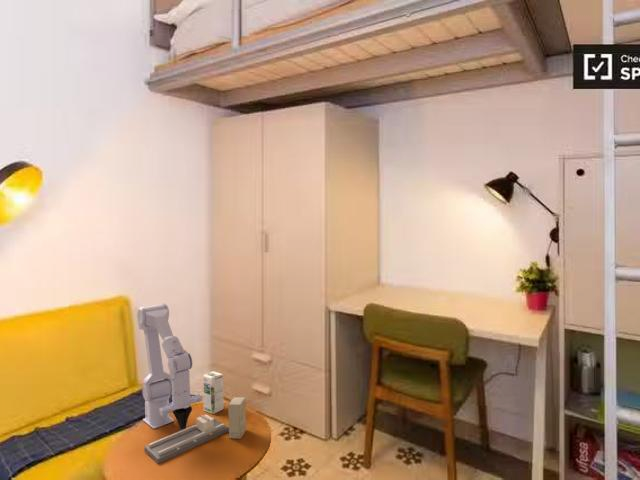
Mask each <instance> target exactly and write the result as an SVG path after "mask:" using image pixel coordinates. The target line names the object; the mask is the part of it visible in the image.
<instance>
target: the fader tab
mask: <svg viewBox="0 0 640 480" xmlns="http://www.w3.org/2000/svg"><path fill="white" fill-rule="evenodd" d="M195 421H196V422H195V423H196V424H195V425H196V427H197V429H199V430H200V431H202V432H204V431H207V430H209V429H211V428H214V419H213V418H212V417H211V416H210V415H208V414H207V413H206V414H204V413H203V414H200V415H199V416H198V417H196V419H195Z"/></svg>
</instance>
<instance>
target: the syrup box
mask: <svg viewBox="0 0 640 480" xmlns="http://www.w3.org/2000/svg"><path fill="white" fill-rule="evenodd" d="M202 383H203V384H202V387H203V389H202V390H203V412H207V413H209V414H212V415H215V414H217V413H218V412H220V411H223V410H224V406H225V405H224V402H225V401H224V374H223V373H220V372H217V371H214V370H213V371H209V372H207V373H205V374H203V376H202Z"/></svg>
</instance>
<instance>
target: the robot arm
mask: <svg viewBox="0 0 640 480" xmlns="http://www.w3.org/2000/svg"><path fill="white" fill-rule="evenodd" d="M138 308H139V309H138V310H137V323H138V324H137V325H138V329H139V330H142V331H143V335H144V339H145V340H144V341H145V347H146V348H145V349H146V356H147V363H148V364H147V365H148V375H147V376H146V377H145V378H144V379H143V380H142V398H143V399H144V401H145V402H144V410H145V411H144V415H145V418H143V419H142V421H143V422H144V423H146V424H147V425H148V426H149V427H150V428H152V429H153V430H155V429H158V428H160V427H162V426H165V425H167V424H170V423H173V422H174V421H175V419H176V421H177V425H178V428H179V429H180V431H181V430H184V429H186V428H187V423H188V420H189V417H190V414H191V412H192V411H193V407H192V406H191V405H193V404H196V403H198V402H199V403H200V402H201V403H202V402H203V395H201V394H200V393H199V394H196V395H191V383H190V382H191V381H190V370H191V369H192V368H193V358H192V355H191V353H190V352H189V351H188V350H186V349H184V348H183V345H182V344H181V341H180V339H179V337H177V336H175V335H174V334H173V331H172V328H171V325H170V323H169V317H170V309H169V306H168V305H167V304H166V303H164V302H163V303H161V304H160V303H159V304H155V305H150V306H140V307H138ZM160 338H161V340H162V343H161V342H160ZM160 343H161V344H160ZM161 347H162V349H163V351H164V353H165V356H166V359H168V361H167V367H168V370H169V373H168V372H166V371H164V365H163V359H162V350H161ZM171 397H172V401H170V398H171ZM170 413H172V414H173V416H174V417H175V419H174V418H172V416H170Z"/></svg>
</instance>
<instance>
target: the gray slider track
mask: <svg viewBox="0 0 640 480" xmlns="http://www.w3.org/2000/svg"><path fill="white" fill-rule="evenodd" d="M211 418H213V419H214V428H211V429H209V430H207V431H204V432H202V431H200V430H199V429H197V427H196V424H193V425H191V426H188V427H186V428H185V429H183V430H181V429H180V431H177V432H174V433H172V434H170V435H167V436H165V437H162V438H160V439H157V440H155V441H153V442H151V443H149V444H148V445H145V446H144V448H143V449H144V452H145V453H146V454H147V455H148V456H149V457H150V458H152V460H154V461H155V462H156V464H160V463H163V462H165V461H167V460H169V459H172V458H174V457H176V456H178V455H180V454H182V453H184V452H186V450H187V451H189V450H190V449H193V448H195V447H197V446H200V445H202V444H204V443H206V442H209V441H211V440H212V439H215V438H217V437H219V436H222V435H223V434H225V433H226V434H227V433H229V425H226V424H225V423H223V422H222V421H220V420H218V419H217V418H215V417H214V416H213V417H211ZM188 449H189V450H188Z"/></svg>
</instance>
